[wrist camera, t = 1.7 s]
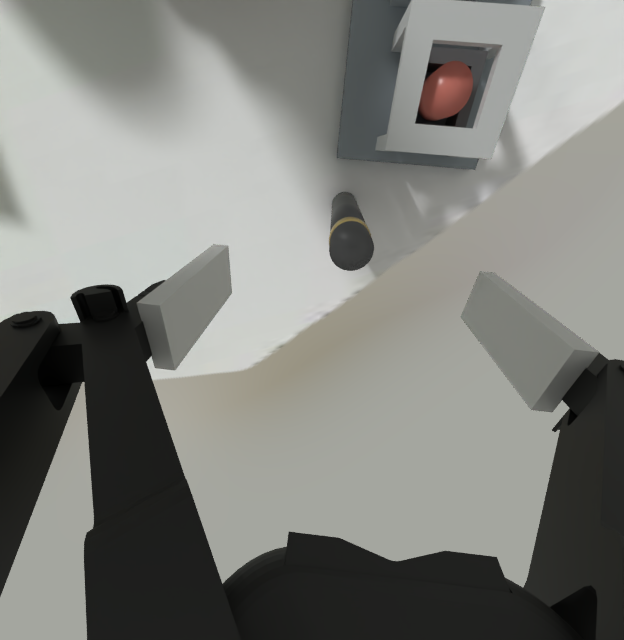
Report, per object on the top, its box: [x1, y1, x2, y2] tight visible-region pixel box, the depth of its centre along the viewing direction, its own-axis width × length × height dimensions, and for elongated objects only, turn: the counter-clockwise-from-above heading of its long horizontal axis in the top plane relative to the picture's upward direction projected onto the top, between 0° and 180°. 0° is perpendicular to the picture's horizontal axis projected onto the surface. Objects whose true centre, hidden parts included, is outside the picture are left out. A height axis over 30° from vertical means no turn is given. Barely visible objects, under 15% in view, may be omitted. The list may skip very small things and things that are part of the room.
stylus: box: [329, 192, 374, 271], centre depth 27 cm, size 3×3×18 cm
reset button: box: [418, 61, 473, 121], centre depth 24 cm, size 4×4×3 cm
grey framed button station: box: [337, 0, 545, 170], centre depth 23 cm, size 19×15×8 cm
